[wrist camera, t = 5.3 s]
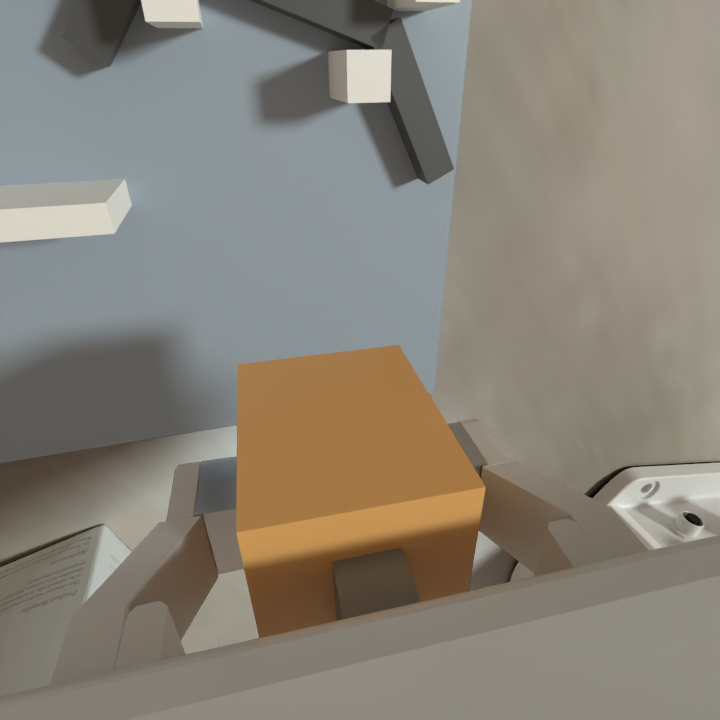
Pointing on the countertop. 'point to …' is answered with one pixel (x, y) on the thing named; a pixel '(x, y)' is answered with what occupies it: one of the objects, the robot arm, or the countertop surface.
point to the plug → (348, 489)
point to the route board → (214, 201)
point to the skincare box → (49, 603)
